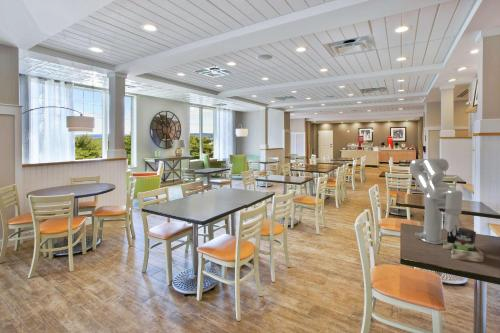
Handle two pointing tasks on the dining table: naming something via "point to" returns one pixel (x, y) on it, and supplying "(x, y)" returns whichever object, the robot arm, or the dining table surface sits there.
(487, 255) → the dining table surface
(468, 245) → the coffee can
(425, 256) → the dining table surface
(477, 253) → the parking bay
